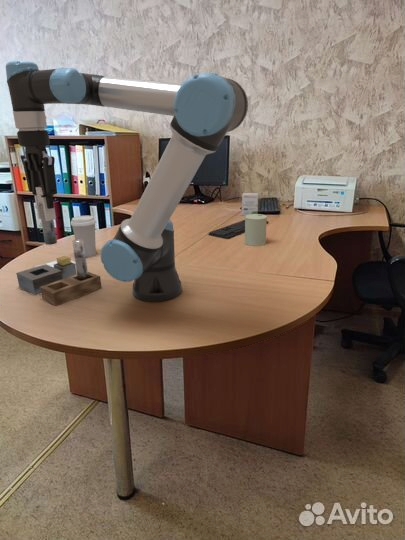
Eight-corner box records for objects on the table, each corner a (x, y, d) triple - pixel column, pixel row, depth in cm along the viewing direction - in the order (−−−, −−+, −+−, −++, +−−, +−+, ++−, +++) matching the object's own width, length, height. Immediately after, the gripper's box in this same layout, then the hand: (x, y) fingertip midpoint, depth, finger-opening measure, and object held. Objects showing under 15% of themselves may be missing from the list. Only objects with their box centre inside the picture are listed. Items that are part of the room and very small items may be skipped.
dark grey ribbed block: (227, 240, 172) (227, 236, 171) (207, 236, 178) (207, 232, 178) (269, 224, 197) (269, 220, 196) (250, 220, 204) (250, 217, 203)
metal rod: (59, 242, 111) (50, 186, 105) (49, 245, 109) (39, 187, 103) (53, 240, 113) (44, 185, 107) (43, 243, 111) (33, 186, 105)
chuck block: (81, 278, 131) (79, 265, 129) (35, 295, 119) (32, 280, 117) (64, 272, 137) (62, 259, 135) (19, 287, 125) (16, 273, 123)
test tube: (91, 288, 123) (85, 240, 118) (83, 291, 121) (76, 242, 115) (85, 286, 125) (79, 238, 120) (77, 289, 123) (70, 240, 117)
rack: (87, 282, 128) (86, 271, 127) (101, 287, 124) (100, 276, 122) (42, 299, 117) (39, 286, 115) (55, 305, 112) (53, 293, 111)
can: (270, 242, 166) (271, 214, 162) (257, 247, 160) (258, 219, 155) (252, 238, 172) (253, 211, 168) (239, 243, 166) (240, 215, 161)
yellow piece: (72, 274, 132) (70, 257, 130) (64, 277, 130) (61, 260, 128) (67, 272, 134) (64, 255, 132) (59, 274, 132) (56, 258, 129)
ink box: (257, 214, 215) (258, 192, 211) (257, 216, 211) (258, 194, 207) (242, 213, 217) (242, 192, 212) (241, 215, 212) (242, 194, 208)
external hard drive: (34, 270, 140) (65, 261, 149) (45, 276, 135) (76, 266, 144) (33, 266, 140) (64, 257, 148) (44, 271, 135) (76, 262, 143)
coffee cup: (69, 257, 152) (64, 219, 147) (84, 250, 161) (79, 214, 155) (90, 259, 149) (85, 221, 144) (104, 252, 157) (100, 215, 152)
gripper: (62, 129, 98) (75, 220, 106) (30, 129, 107) (44, 212, 116) (34, 130, 92) (50, 226, 101) (3, 130, 102) (20, 217, 111)
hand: (47, 218), depth 108 cm, fingers closed on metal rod, 3 cm apart
